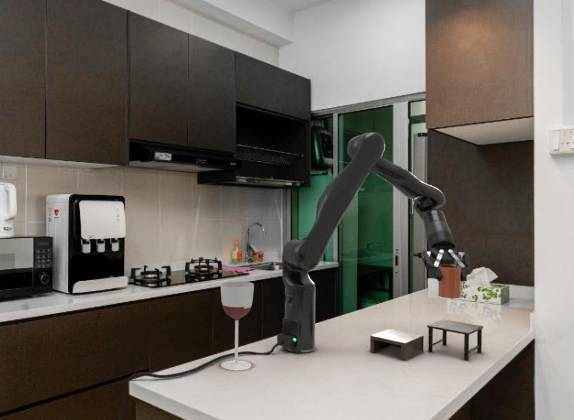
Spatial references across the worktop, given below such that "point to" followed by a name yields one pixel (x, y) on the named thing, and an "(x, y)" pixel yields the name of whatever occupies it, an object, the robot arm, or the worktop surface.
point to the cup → (450, 282)
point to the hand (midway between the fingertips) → (451, 279)
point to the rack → (456, 328)
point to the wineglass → (236, 313)
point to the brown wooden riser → (398, 342)
